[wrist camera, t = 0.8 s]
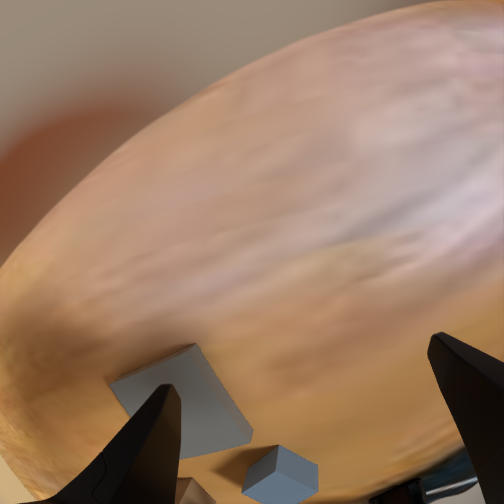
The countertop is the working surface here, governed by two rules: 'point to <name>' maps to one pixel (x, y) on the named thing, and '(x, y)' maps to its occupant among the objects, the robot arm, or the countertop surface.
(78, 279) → the countertop surface
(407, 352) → the countertop surface
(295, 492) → the slate block
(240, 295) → the countertop surface
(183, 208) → the countertop surface
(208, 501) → the walnut cube
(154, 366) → the slate pad
